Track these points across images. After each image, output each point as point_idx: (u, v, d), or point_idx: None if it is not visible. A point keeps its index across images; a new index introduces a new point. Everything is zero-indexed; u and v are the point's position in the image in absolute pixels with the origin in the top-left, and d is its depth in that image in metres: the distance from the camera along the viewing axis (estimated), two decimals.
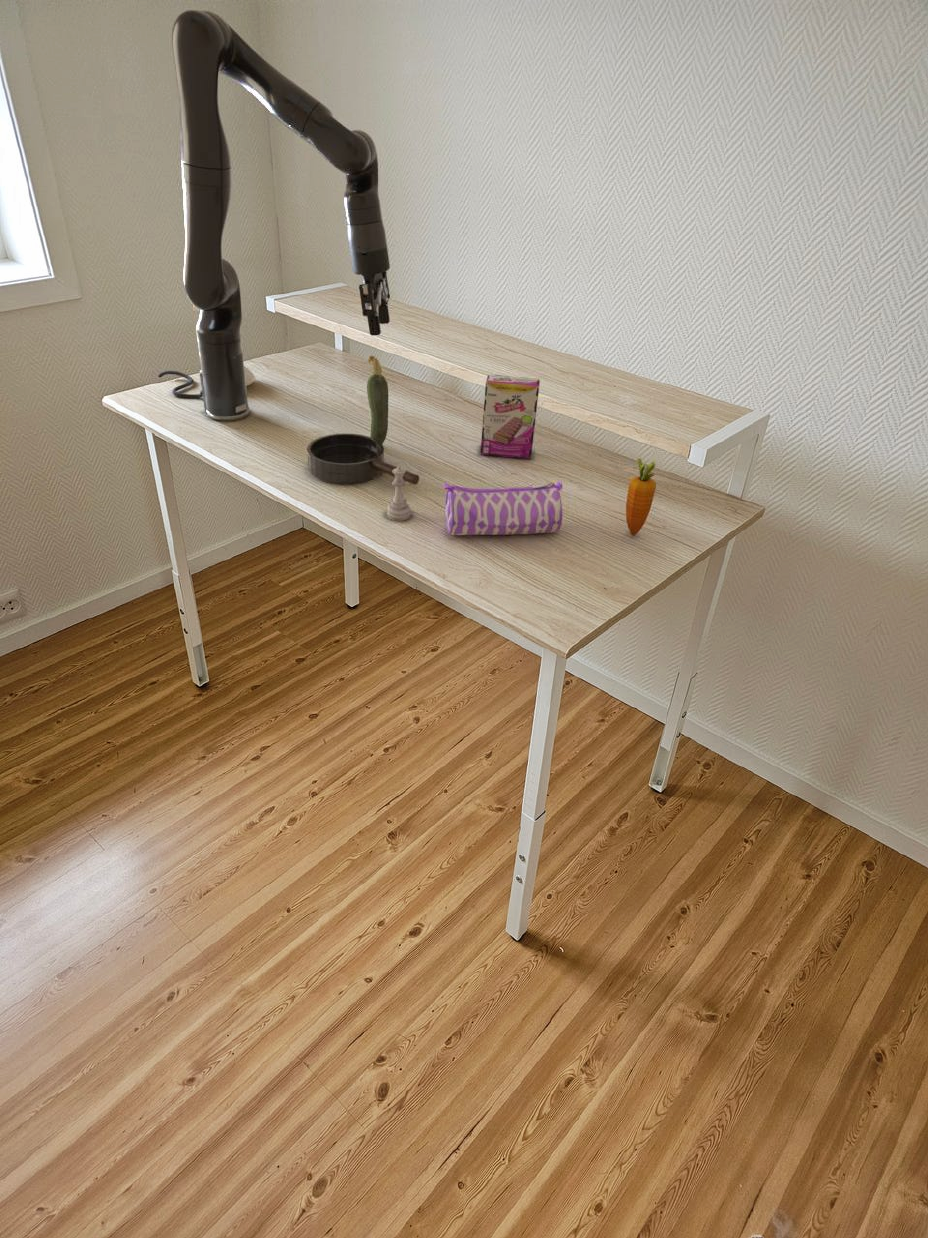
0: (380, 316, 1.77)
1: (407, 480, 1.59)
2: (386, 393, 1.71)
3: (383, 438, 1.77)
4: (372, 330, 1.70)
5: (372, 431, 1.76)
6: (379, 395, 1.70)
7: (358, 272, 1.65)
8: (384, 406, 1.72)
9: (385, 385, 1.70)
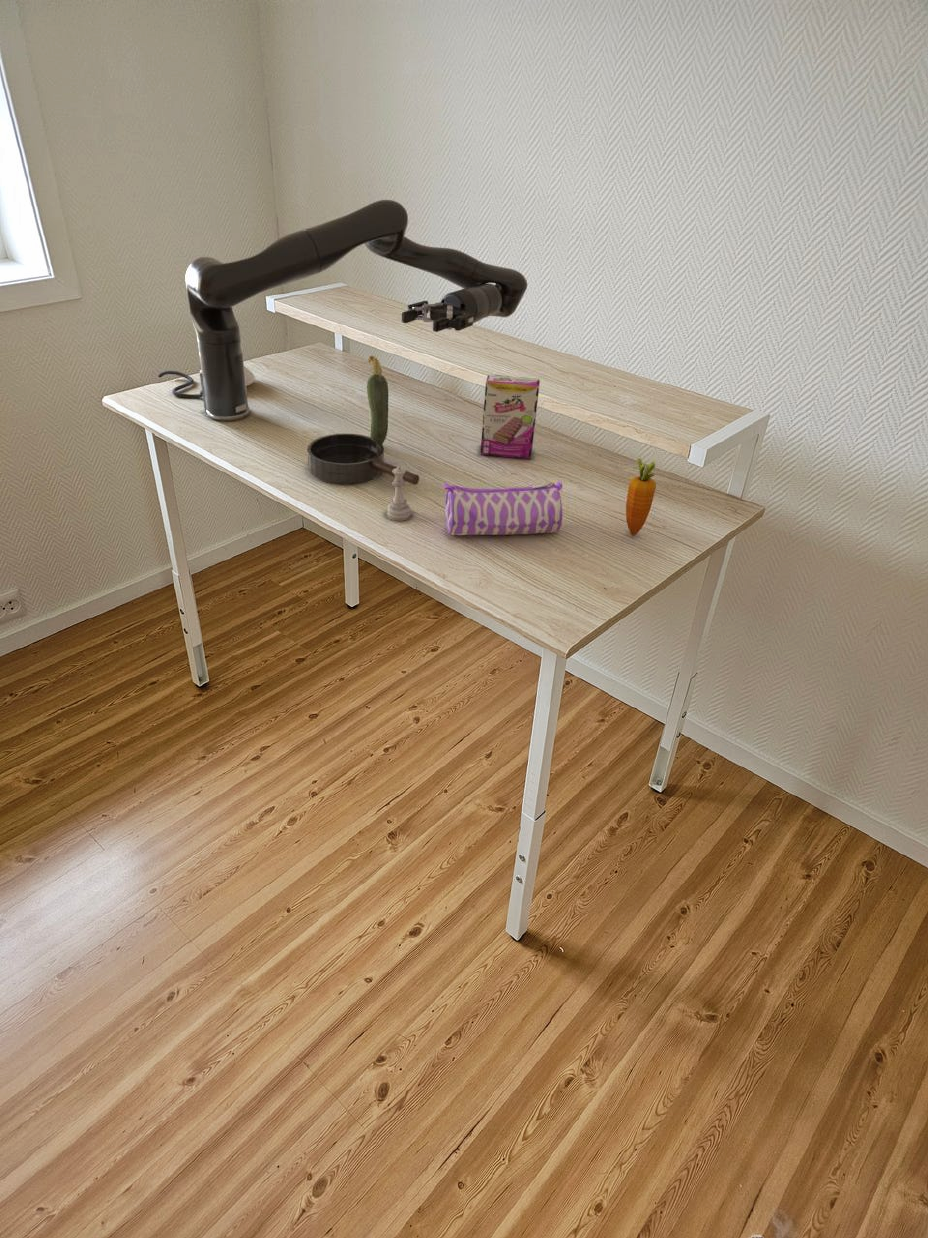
0: (408, 313, 1.76)
1: (407, 480, 1.59)
2: (386, 393, 1.71)
3: (383, 438, 1.77)
4: (441, 325, 1.71)
5: (372, 431, 1.76)
6: (379, 395, 1.70)
7: (465, 304, 1.79)
8: (384, 406, 1.72)
9: (385, 385, 1.70)
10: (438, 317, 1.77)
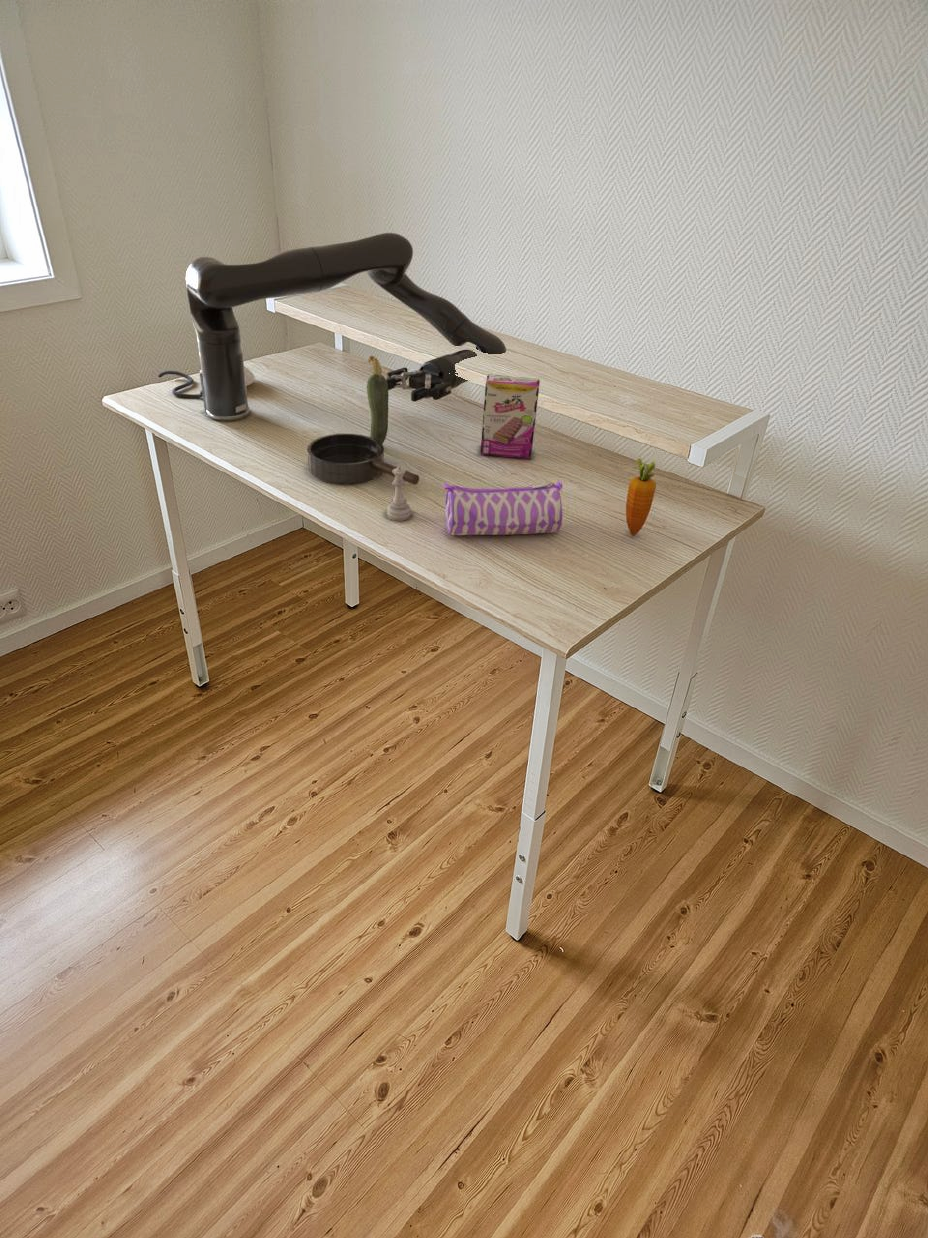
0: (387, 382, 1.79)
1: (407, 480, 1.59)
2: (386, 393, 1.71)
3: (383, 438, 1.77)
4: (419, 395, 1.75)
5: (372, 431, 1.76)
6: (379, 395, 1.70)
7: (444, 373, 1.82)
8: (384, 406, 1.72)
9: (385, 385, 1.70)
10: (417, 385, 1.81)
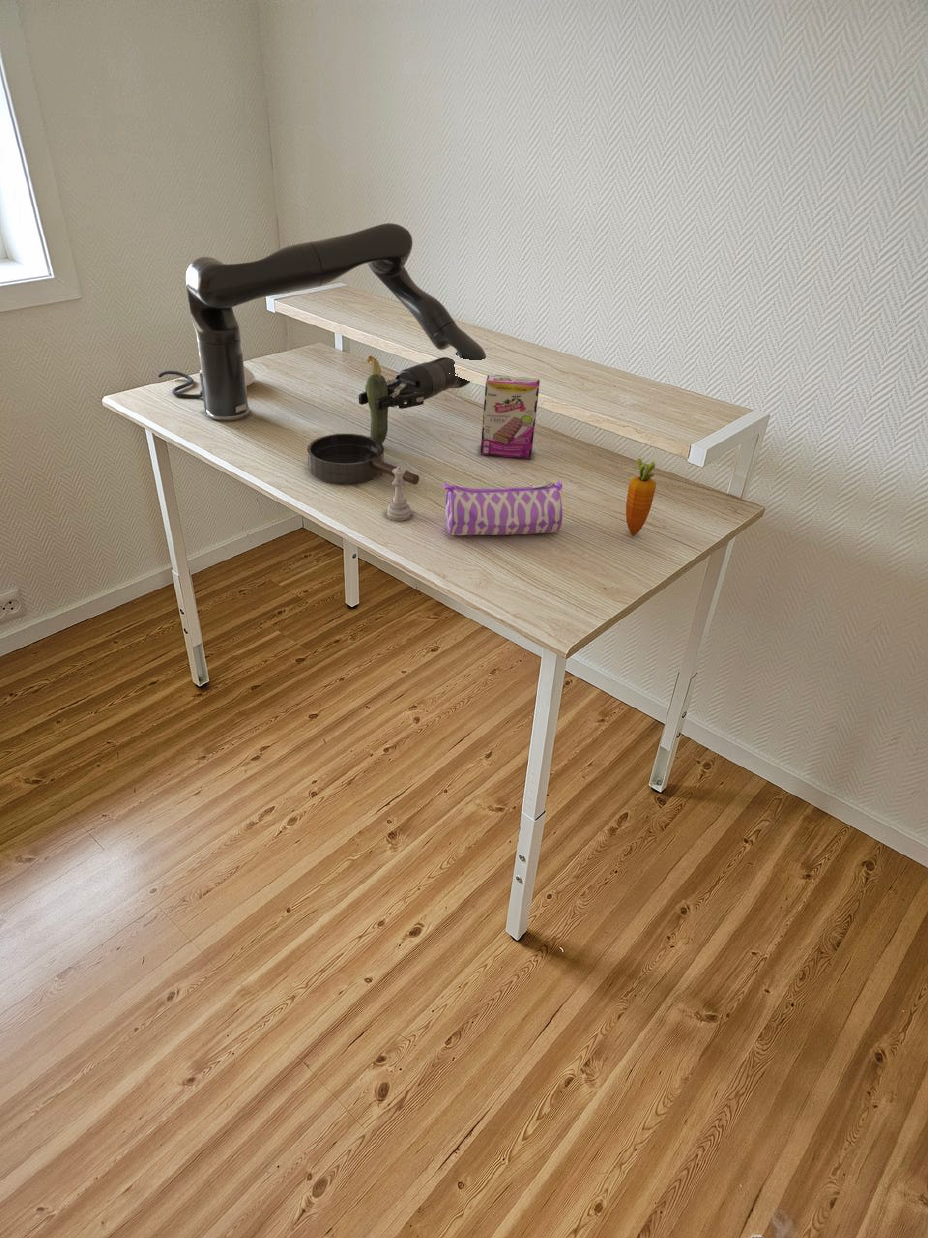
0: (365, 395, 1.72)
1: (407, 480, 1.59)
2: (385, 393, 1.71)
3: (383, 438, 1.77)
4: (384, 404, 1.70)
5: (372, 431, 1.76)
6: (379, 395, 1.70)
7: (420, 381, 1.77)
8: None
9: (384, 385, 1.70)
10: None
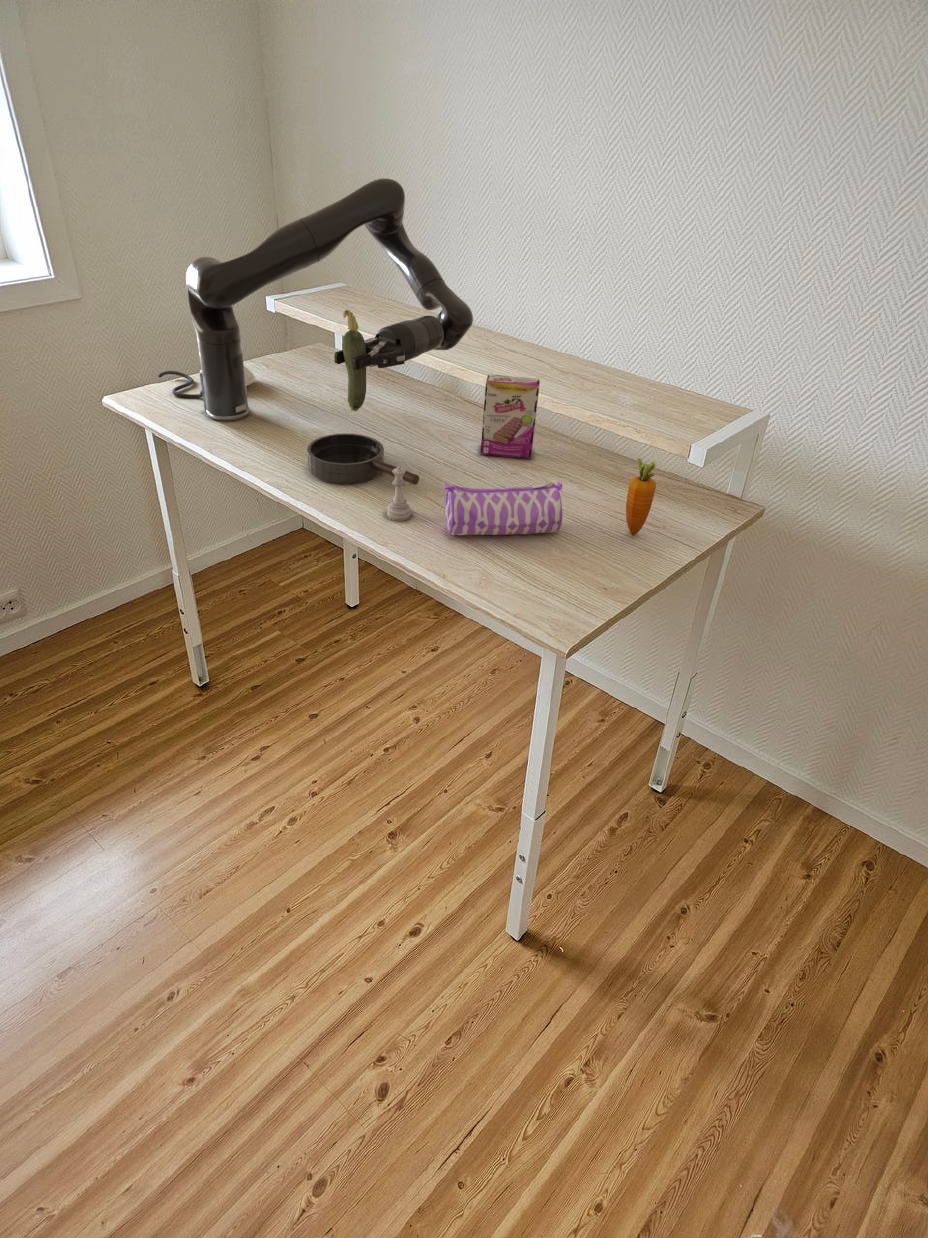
0: (342, 353, 1.60)
1: (407, 480, 1.59)
2: (363, 351, 1.59)
3: (361, 400, 1.65)
4: (361, 362, 1.58)
5: (349, 393, 1.64)
6: (356, 353, 1.58)
7: (401, 340, 1.65)
8: None
9: (362, 342, 1.58)
10: None
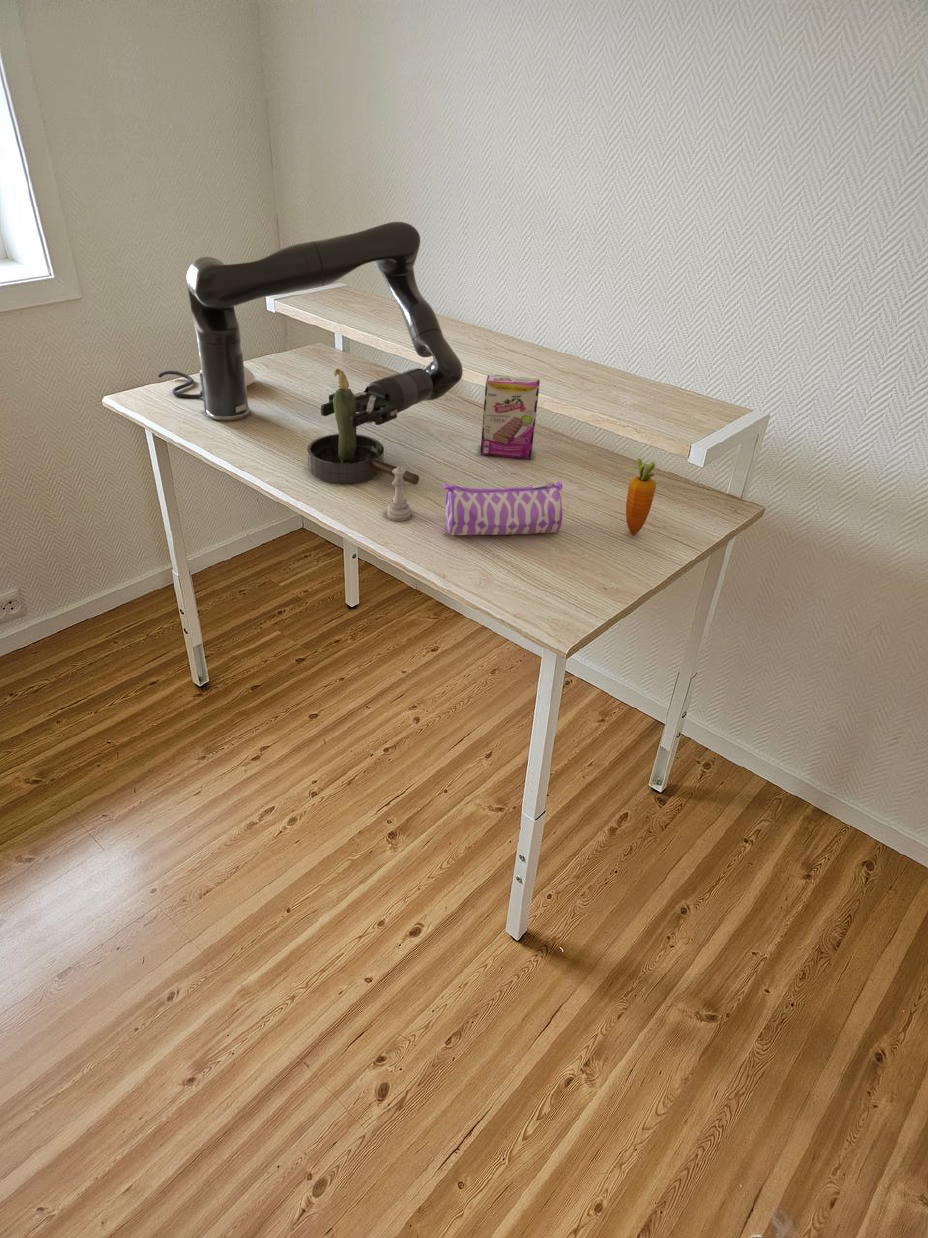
0: (328, 406, 1.64)
1: (407, 480, 1.59)
2: (354, 408, 1.62)
3: (351, 455, 1.68)
4: (359, 420, 1.60)
5: (340, 448, 1.67)
6: (346, 410, 1.61)
7: (390, 395, 1.67)
8: None
9: (352, 400, 1.61)
10: (360, 409, 1.66)
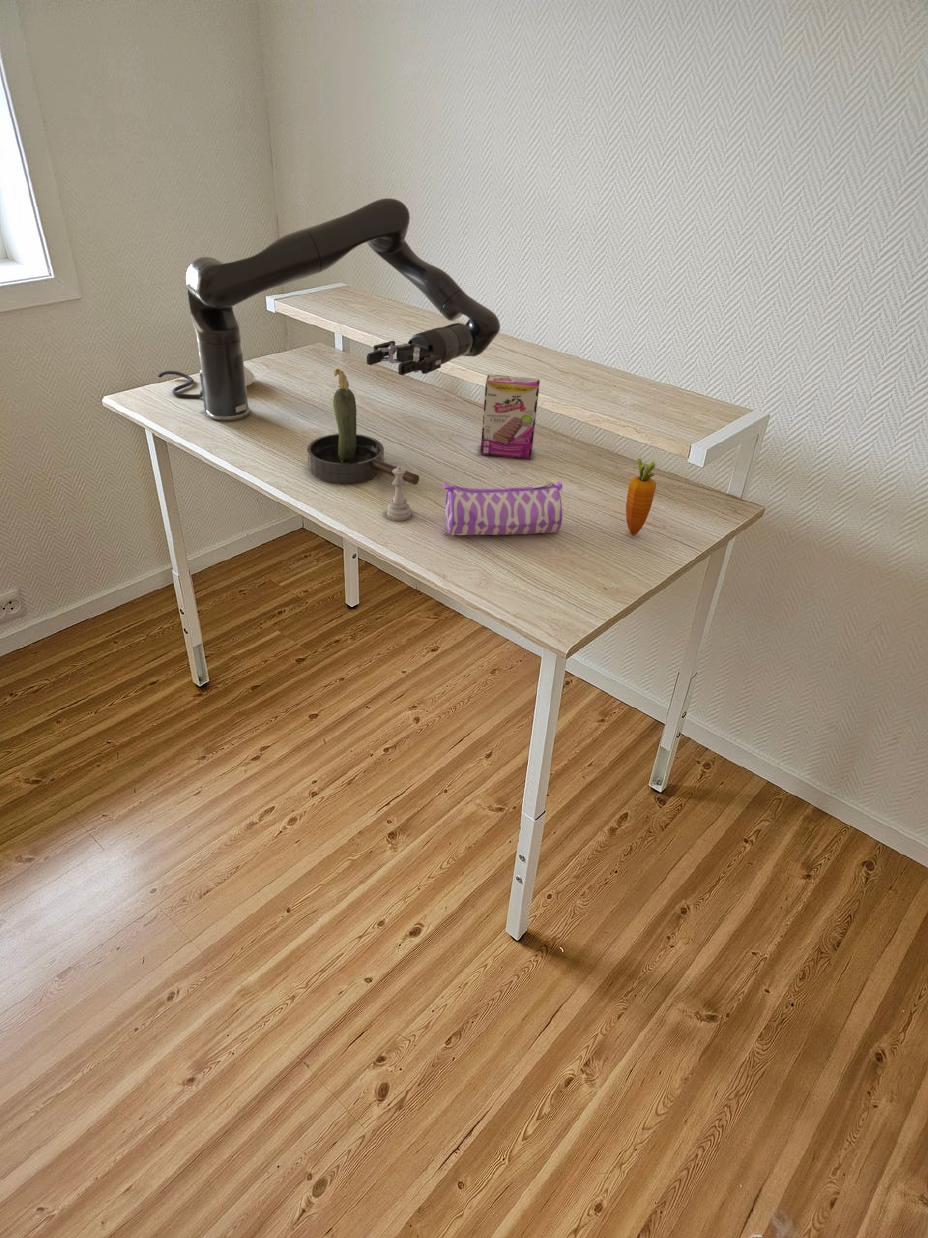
0: (374, 355, 1.69)
1: (407, 480, 1.59)
2: (354, 408, 1.62)
3: (351, 455, 1.68)
4: (407, 368, 1.65)
5: (340, 448, 1.67)
6: (346, 410, 1.61)
7: (433, 346, 1.72)
8: (351, 422, 1.63)
9: (352, 400, 1.61)
10: (405, 359, 1.71)
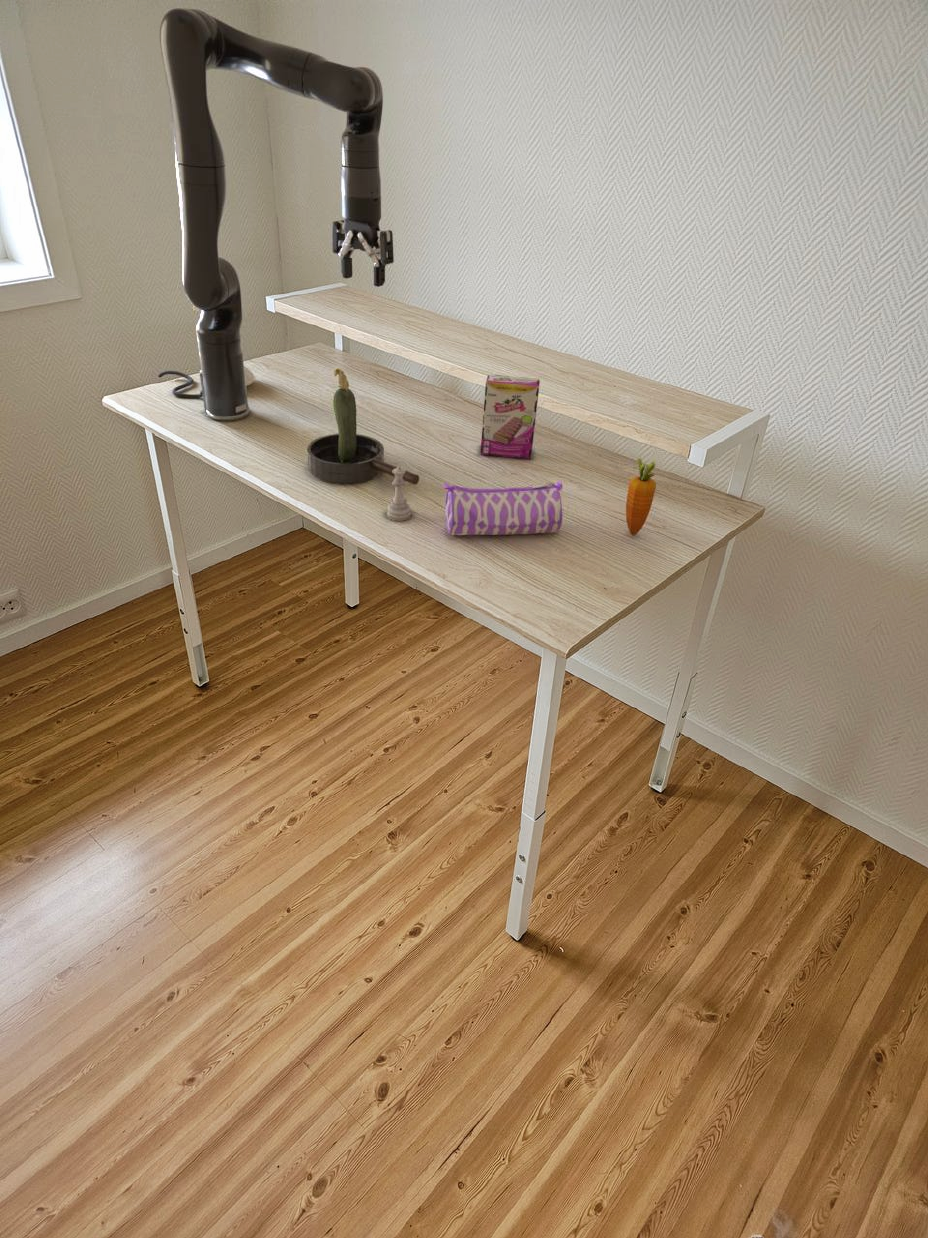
0: (346, 270, 1.68)
1: (407, 480, 1.59)
2: (354, 408, 1.62)
3: (351, 455, 1.68)
4: (381, 280, 1.64)
5: (340, 448, 1.67)
6: (346, 410, 1.61)
7: (367, 220, 1.58)
8: (351, 422, 1.63)
9: (352, 400, 1.61)
10: None
